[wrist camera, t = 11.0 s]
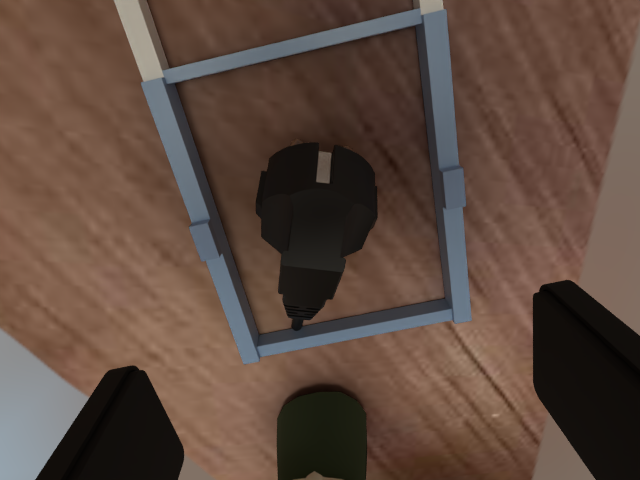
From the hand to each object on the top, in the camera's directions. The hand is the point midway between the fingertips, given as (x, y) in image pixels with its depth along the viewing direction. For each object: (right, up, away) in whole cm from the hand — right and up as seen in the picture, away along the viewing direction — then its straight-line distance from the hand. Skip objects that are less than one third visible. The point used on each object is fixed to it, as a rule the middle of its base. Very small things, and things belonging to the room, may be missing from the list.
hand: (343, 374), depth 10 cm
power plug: (-1, +3, +14) cm, 14 cm away
